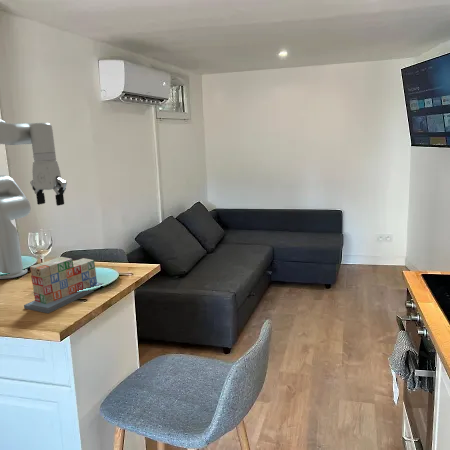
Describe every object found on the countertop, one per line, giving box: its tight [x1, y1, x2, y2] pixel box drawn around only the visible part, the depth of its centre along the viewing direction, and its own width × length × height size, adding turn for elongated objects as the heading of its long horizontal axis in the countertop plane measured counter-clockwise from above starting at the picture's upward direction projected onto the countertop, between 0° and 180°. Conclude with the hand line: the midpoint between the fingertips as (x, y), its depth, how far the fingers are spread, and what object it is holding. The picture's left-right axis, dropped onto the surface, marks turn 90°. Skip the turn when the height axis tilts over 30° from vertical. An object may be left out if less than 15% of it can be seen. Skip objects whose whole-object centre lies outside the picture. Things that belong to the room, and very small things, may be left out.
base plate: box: [23, 281, 104, 314], centre depth 158 cm, size 11×26×1 cm, turn 153°
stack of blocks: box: [29, 256, 98, 304], centre depth 157 cm, size 21×6×12 cm, turn 145°
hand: (50, 204), depth 167 cm, fingers open, 9 cm apart
